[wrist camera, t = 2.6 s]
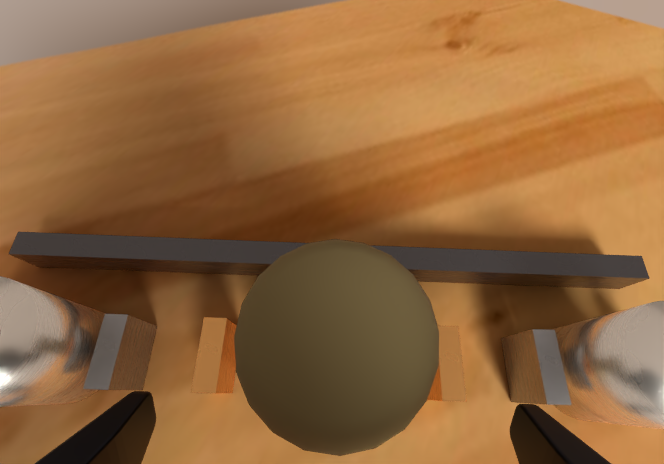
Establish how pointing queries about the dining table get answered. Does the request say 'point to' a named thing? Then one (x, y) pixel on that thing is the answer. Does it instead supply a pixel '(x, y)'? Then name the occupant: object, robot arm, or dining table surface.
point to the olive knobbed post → (336, 347)
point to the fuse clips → (256, 256)
